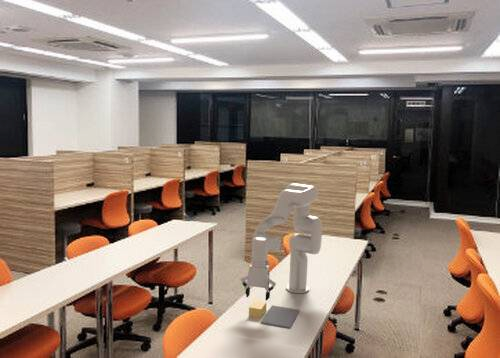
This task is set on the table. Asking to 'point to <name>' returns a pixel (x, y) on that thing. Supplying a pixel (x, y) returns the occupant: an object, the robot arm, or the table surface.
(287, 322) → the mat
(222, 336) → the table surface
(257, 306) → the box
